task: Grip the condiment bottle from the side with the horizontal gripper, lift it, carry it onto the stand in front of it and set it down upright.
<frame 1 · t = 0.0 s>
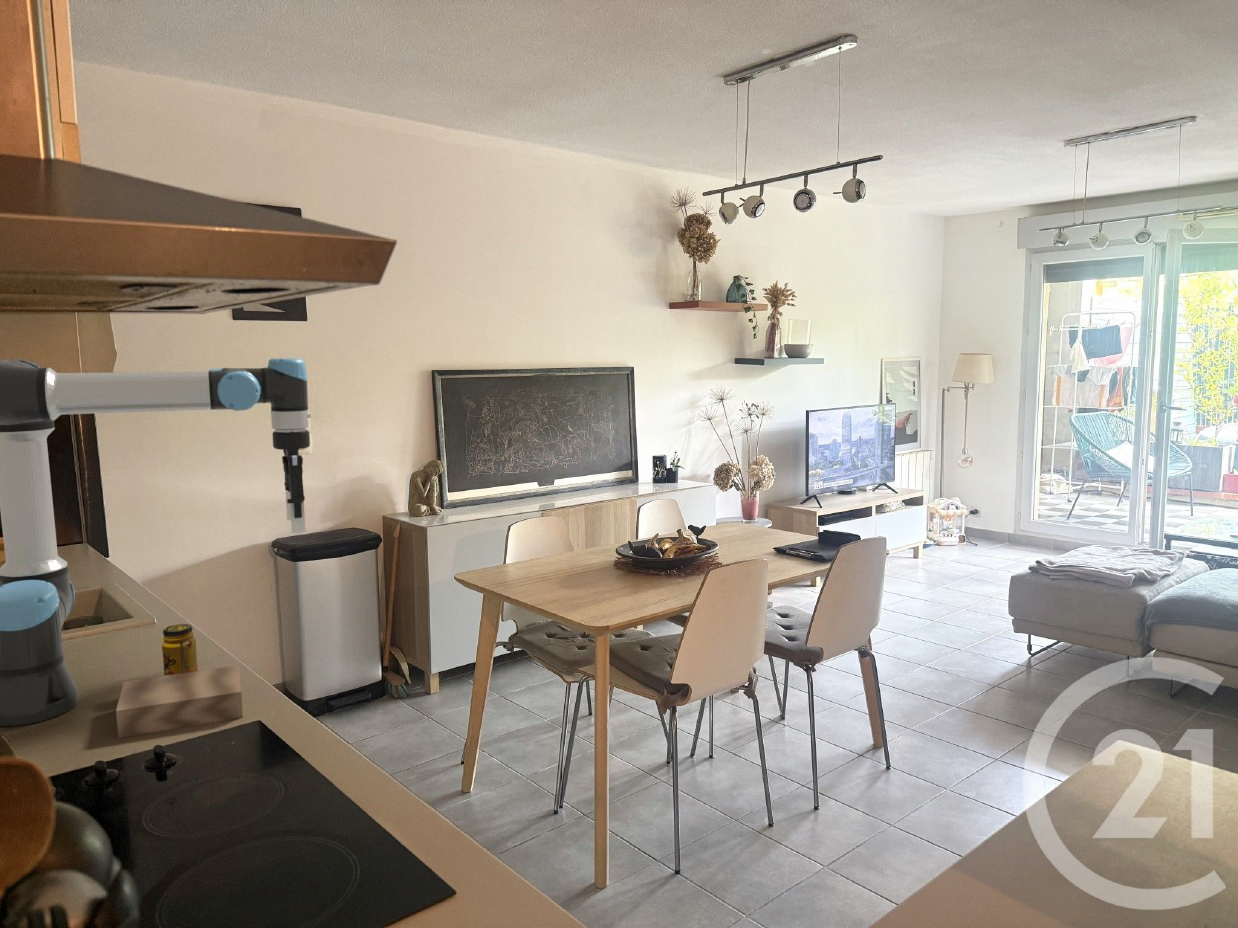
hand: (295, 525, 191), 28 cm above the counter, tool pointing down, fingers open, 13 cm apart
stand: (183, 711, 162), on the counter
condiment: (186, 683, 176), on the counter
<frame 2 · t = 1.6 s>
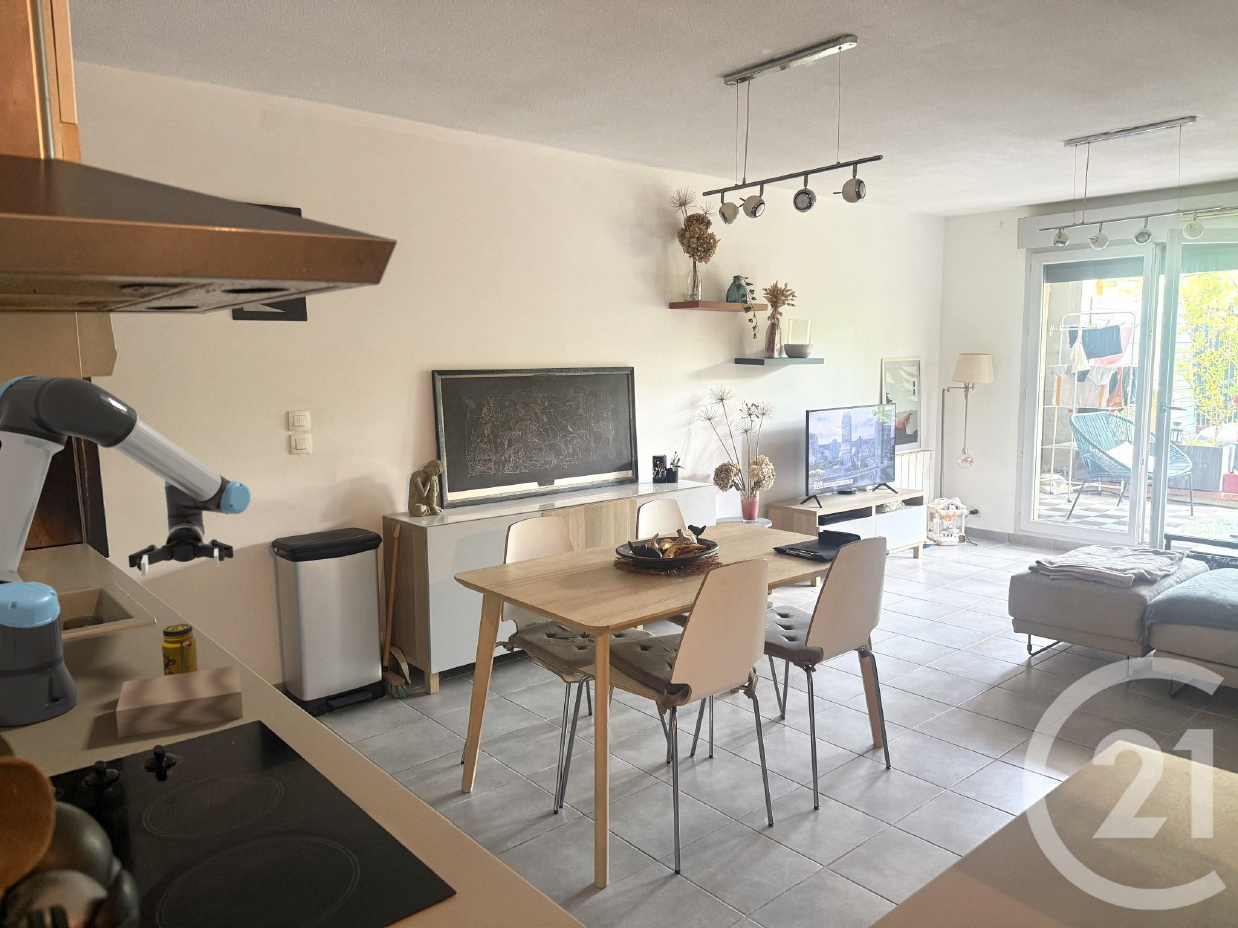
hand: (180, 565, 181), 22 cm above the counter, tool horizontal, fingers open, 13 cm apart
nothing on the counter moved.
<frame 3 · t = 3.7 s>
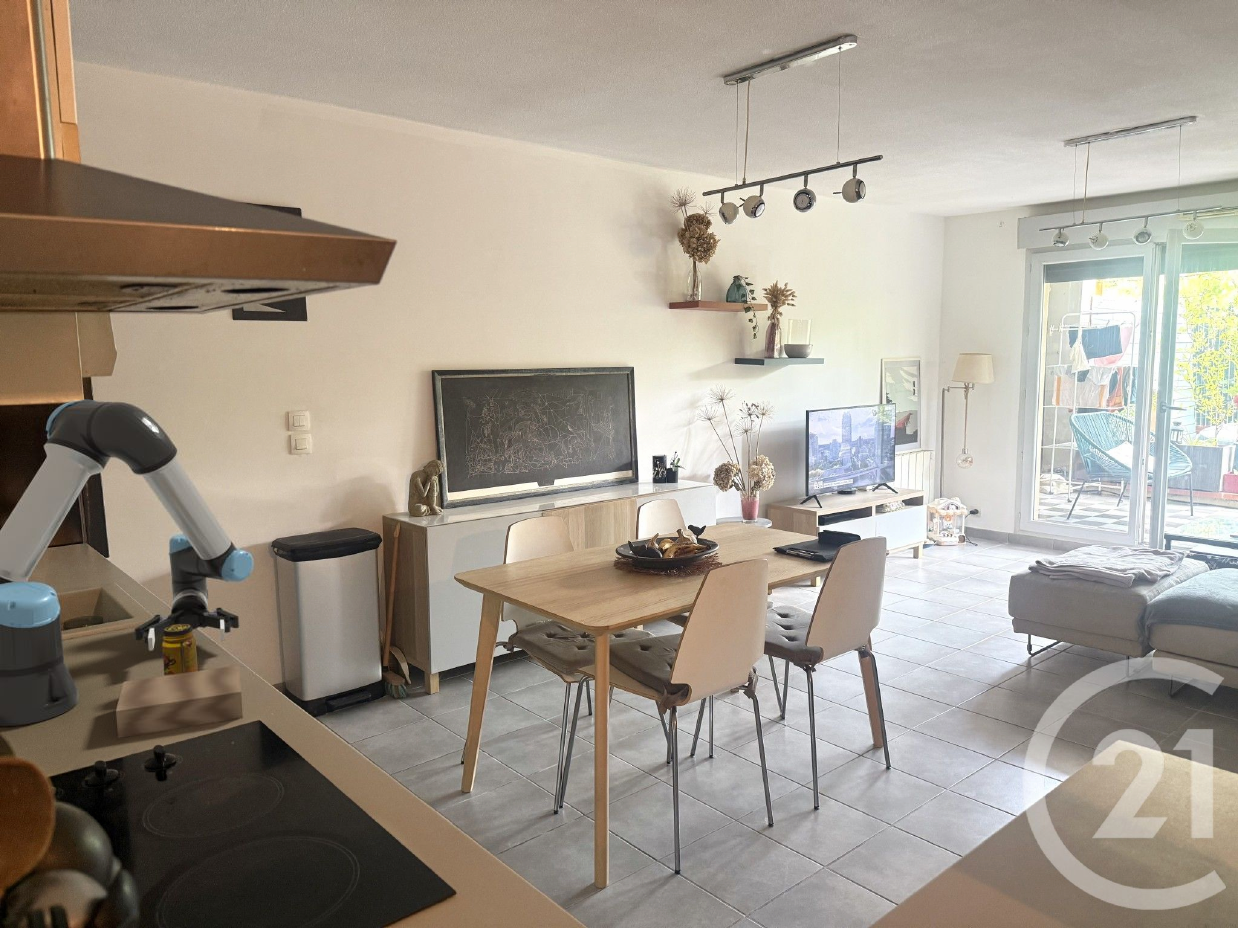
hand: (187, 639, 182), 6 cm above the counter, tool horizontal, fingers open, 13 cm apart
nothing on the counter moved.
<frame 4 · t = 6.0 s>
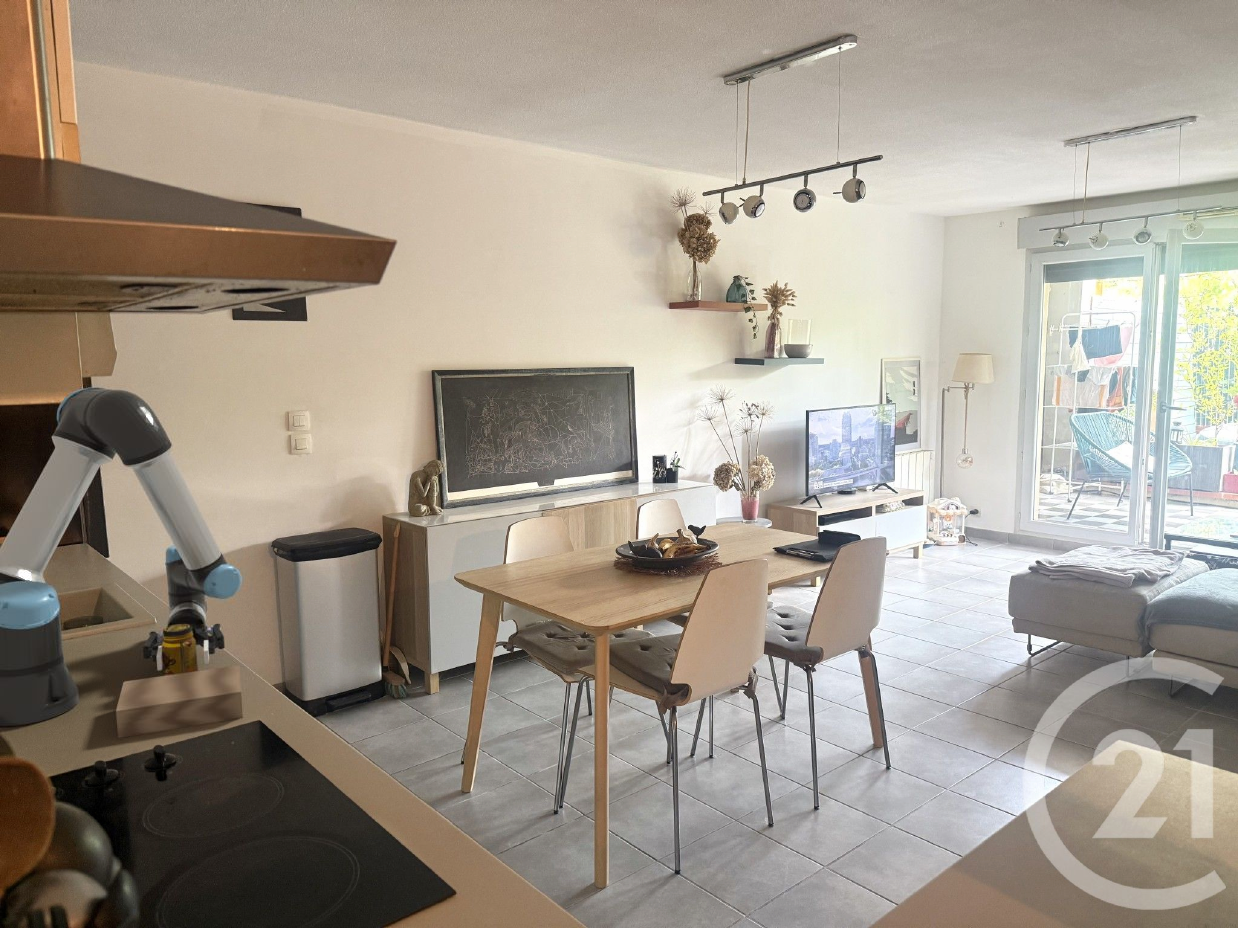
hand: (182, 660, 170), 6 cm above the counter, tool horizontal, fingers open, 8 cm apart
condiment: (186, 683, 176), on the counter, touching gripper
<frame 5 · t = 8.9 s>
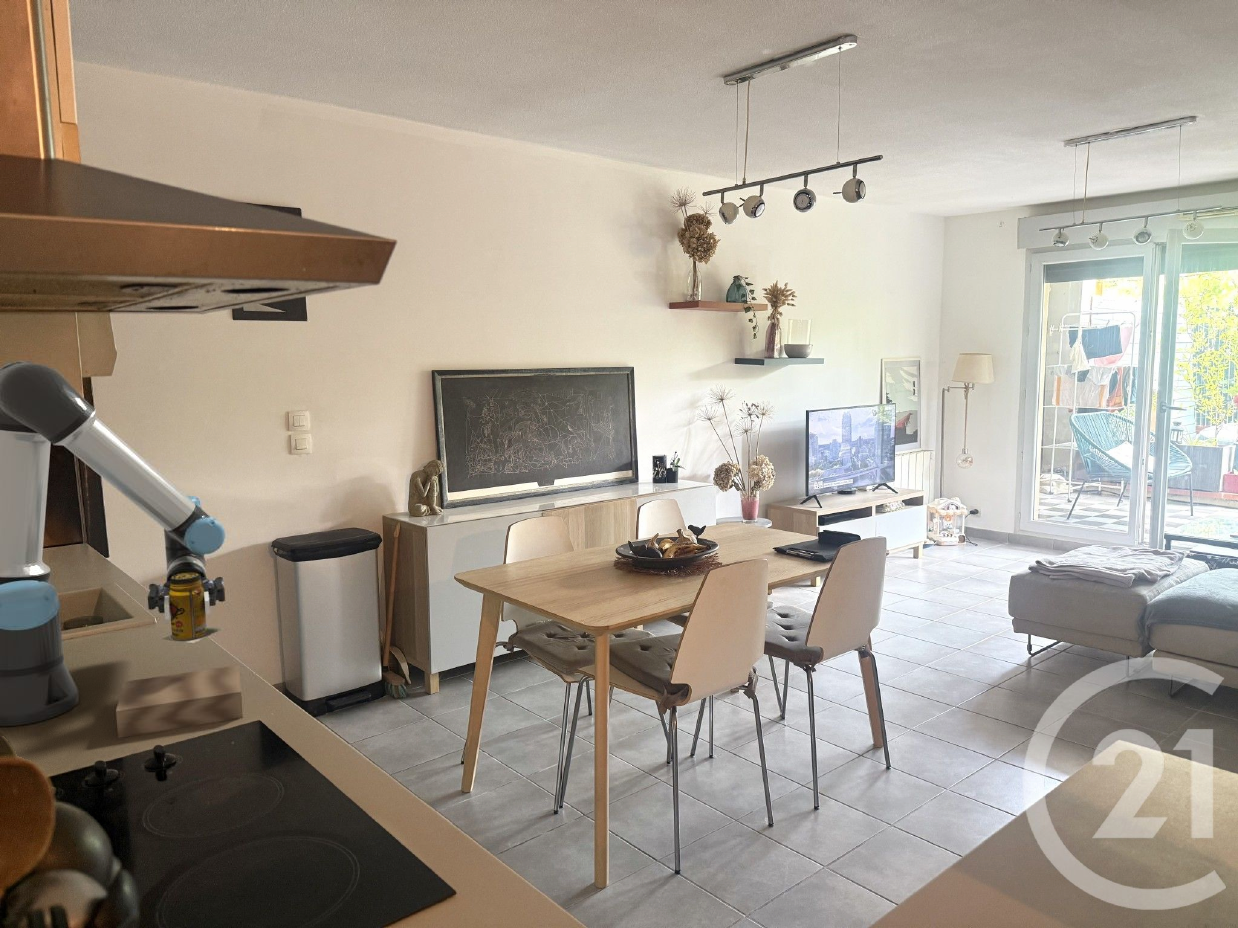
hand: (187, 610, 162), 19 cm above the counter, tool horizontal, fingers closed on condiment, 6 cm apart
condiment: (193, 635, 168), point 12 cm above the counter, touching gripper
when the fingers open (13 cm above the counter, at t = 11.3 s): condiment drops 1 cm, resting on stand.
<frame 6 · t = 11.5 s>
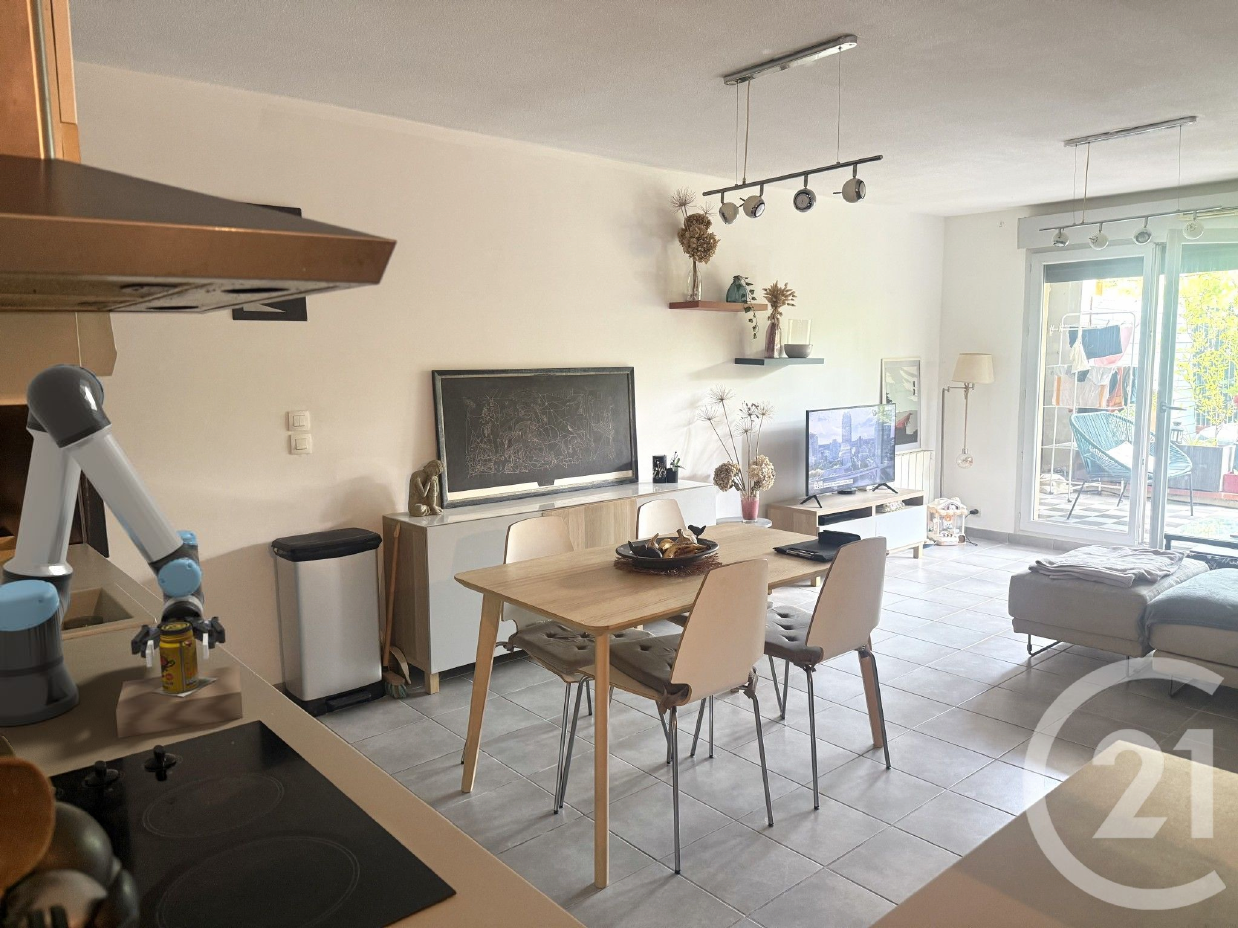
hand: (177, 655, 156), 13 cm above the counter, tool horizontal, fingers open, 8 cm apart
condiment: (185, 687, 162), point 5 cm above the counter, touching stand
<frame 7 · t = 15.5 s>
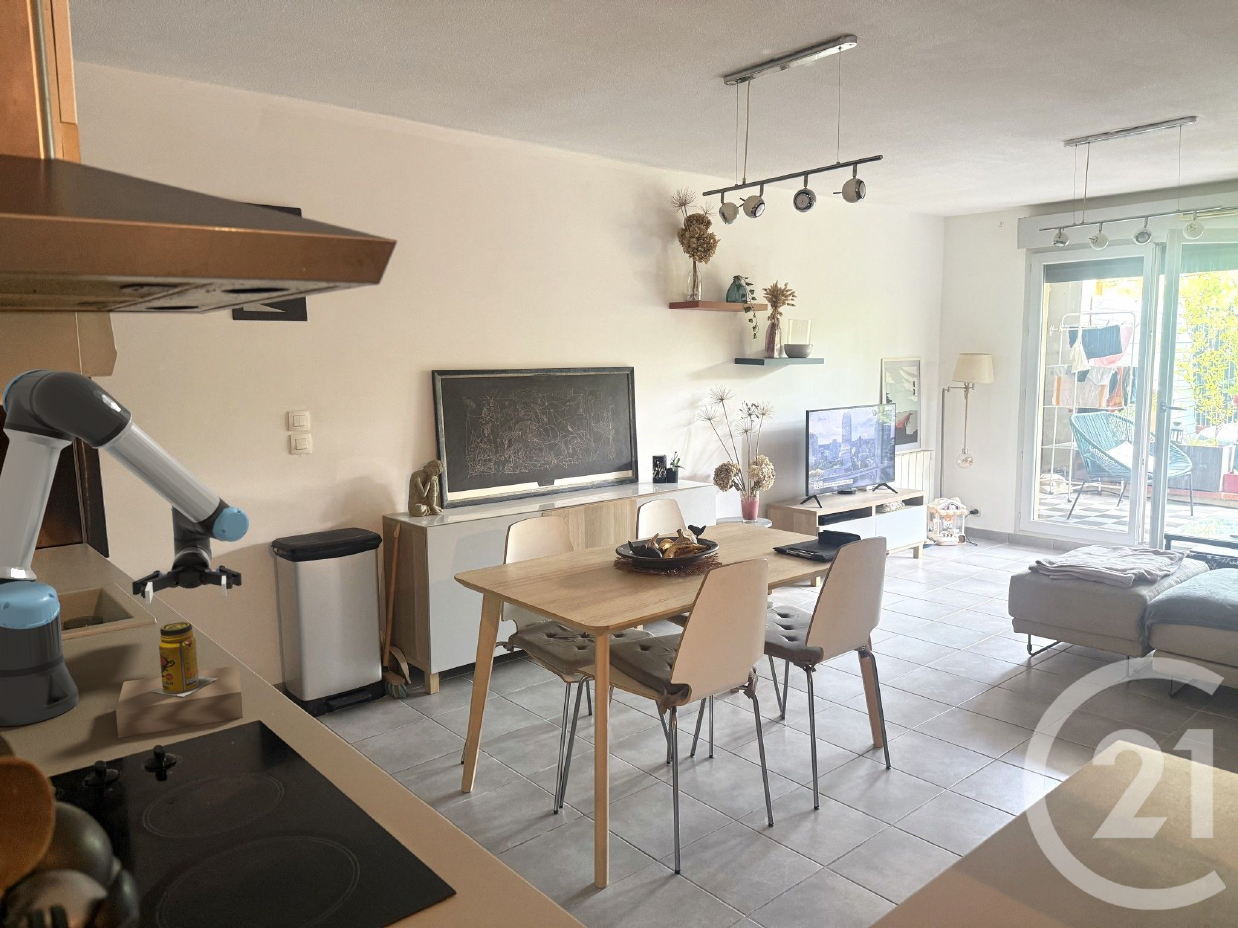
hand: (186, 593, 173), 19 cm above the counter, tool horizontal, fingers open, 13 cm apart
nothing on the counter moved.
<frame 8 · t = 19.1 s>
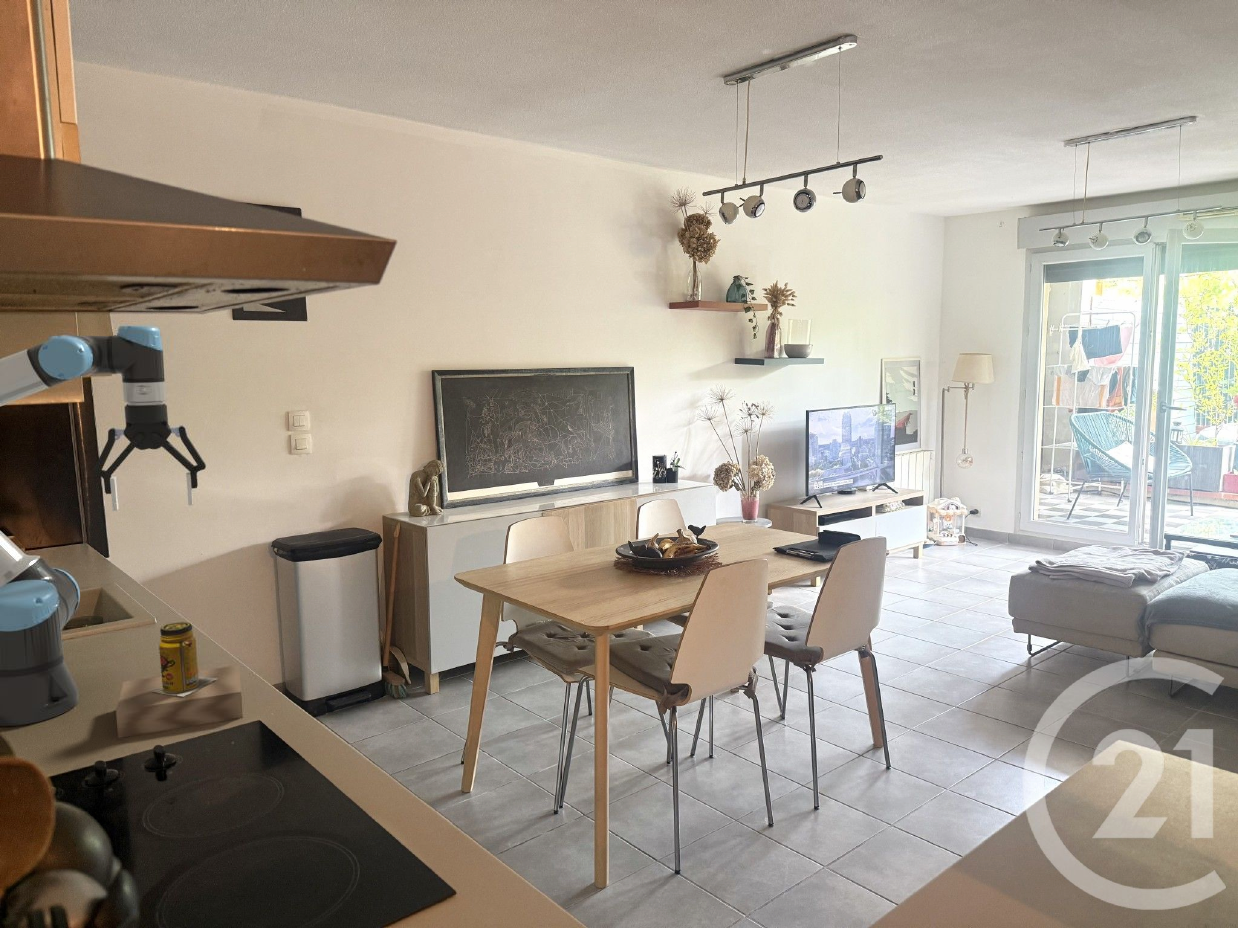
hand: (153, 507, 178), 35 cm above the counter, tool pointing down, fingers open, 13 cm apart
nothing on the counter moved.
at the end: condiment inside the target area on the stand (0.6 cm from its centre), point 4.8 cm above the stand's base; condiment tilted 0°; the gripper is holding nothing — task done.
